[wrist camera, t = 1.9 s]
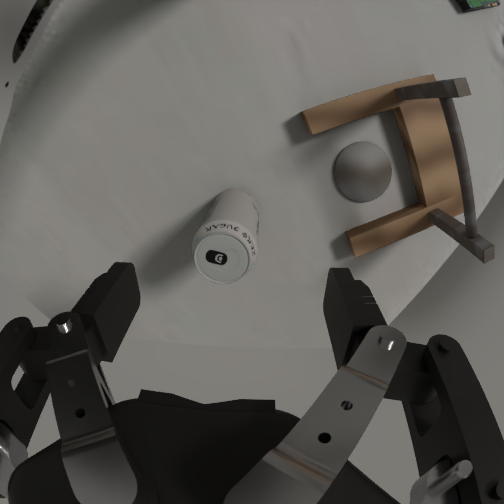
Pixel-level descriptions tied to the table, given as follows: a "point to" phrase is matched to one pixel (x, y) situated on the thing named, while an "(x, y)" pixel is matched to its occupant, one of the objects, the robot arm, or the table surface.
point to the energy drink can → (228, 237)
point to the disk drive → (477, 4)
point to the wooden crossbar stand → (420, 158)
